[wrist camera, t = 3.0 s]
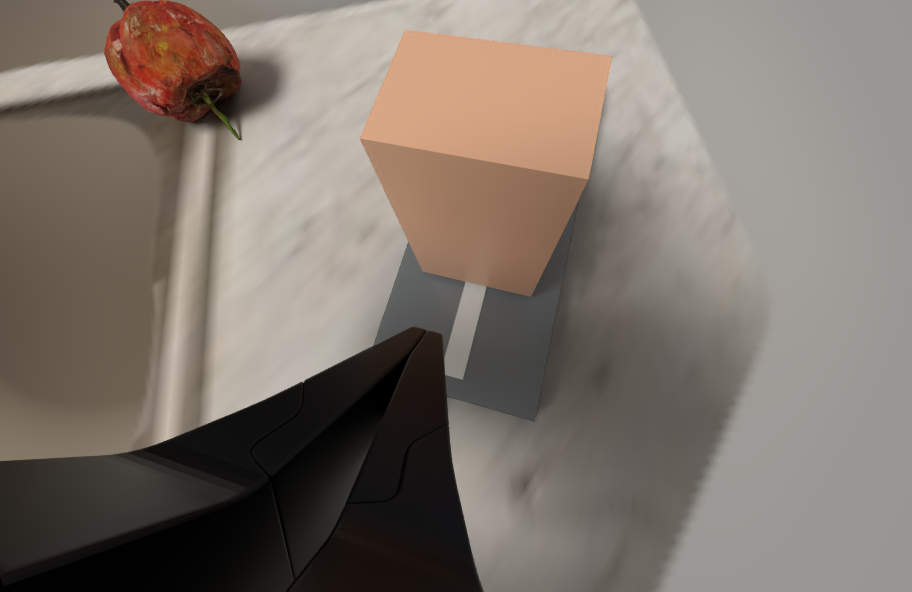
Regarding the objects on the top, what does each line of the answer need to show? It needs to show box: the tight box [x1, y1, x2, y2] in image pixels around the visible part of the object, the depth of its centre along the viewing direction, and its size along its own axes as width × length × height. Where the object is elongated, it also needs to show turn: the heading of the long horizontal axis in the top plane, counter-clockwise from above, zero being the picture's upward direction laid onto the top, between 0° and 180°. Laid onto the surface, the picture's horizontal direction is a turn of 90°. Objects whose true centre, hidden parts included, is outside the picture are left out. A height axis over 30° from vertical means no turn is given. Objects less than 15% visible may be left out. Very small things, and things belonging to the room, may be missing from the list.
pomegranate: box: [104, 0, 241, 140], centre depth 23 cm, size 7×7×10 cm
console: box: [373, 202, 578, 422], centre depth 21 cm, size 22×9×2 cm, turn 165°
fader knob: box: [360, 30, 612, 297], centre depth 14 cm, size 4×6×10 cm, turn 75°
